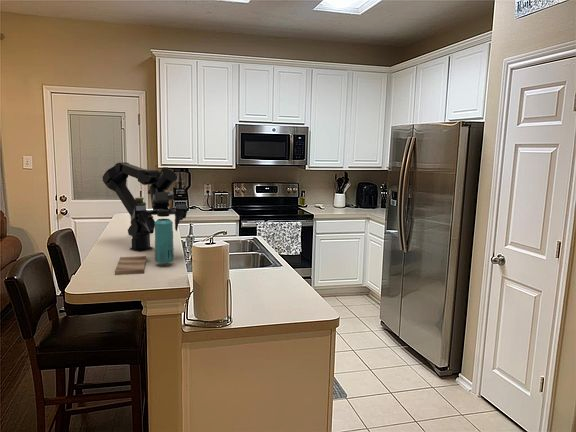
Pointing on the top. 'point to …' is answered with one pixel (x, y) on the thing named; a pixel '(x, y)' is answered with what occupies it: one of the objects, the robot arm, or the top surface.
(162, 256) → the beverage bottle
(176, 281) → the top surface
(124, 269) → the walnut board
